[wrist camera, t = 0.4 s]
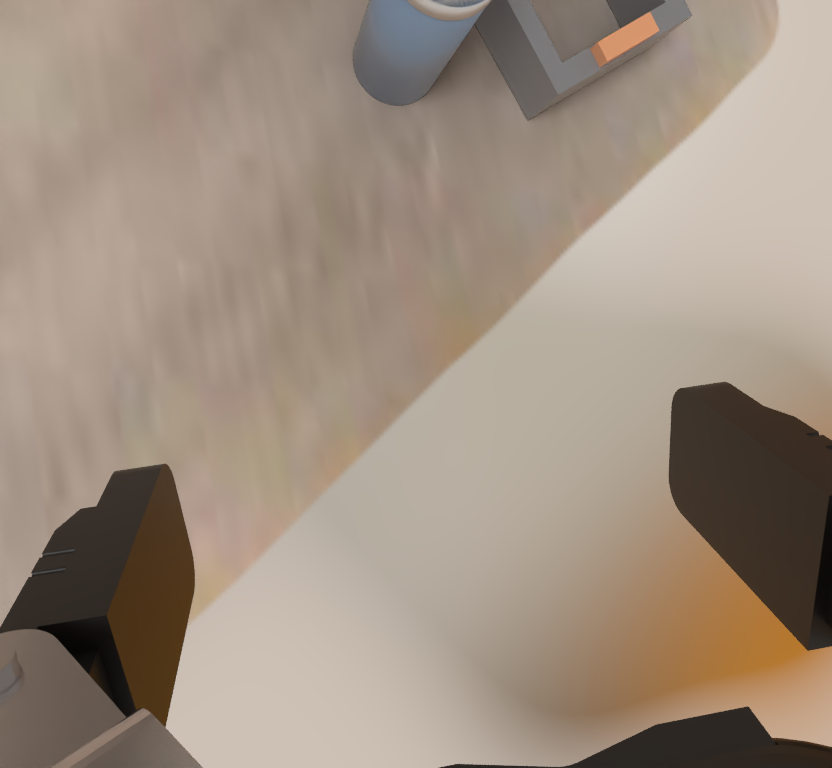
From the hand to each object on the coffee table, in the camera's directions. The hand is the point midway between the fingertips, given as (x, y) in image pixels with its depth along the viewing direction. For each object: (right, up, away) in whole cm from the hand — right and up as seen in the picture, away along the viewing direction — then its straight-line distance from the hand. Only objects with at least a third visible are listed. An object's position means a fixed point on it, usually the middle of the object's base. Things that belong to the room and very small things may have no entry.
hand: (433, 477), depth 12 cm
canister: (-1, +18, +26) cm, 32 cm away
